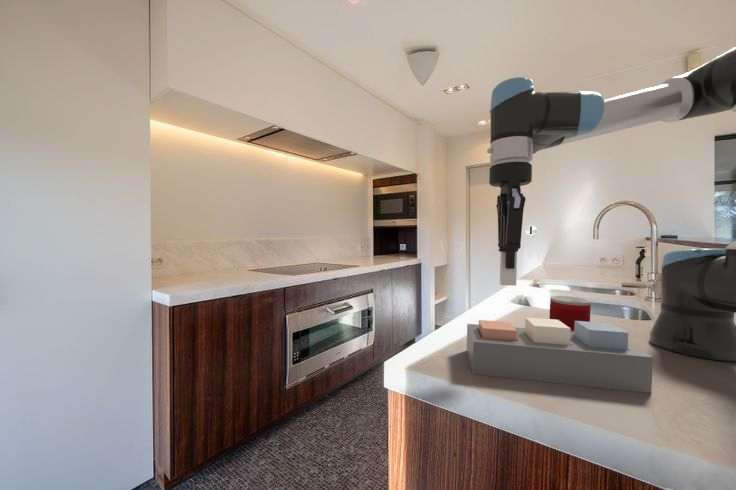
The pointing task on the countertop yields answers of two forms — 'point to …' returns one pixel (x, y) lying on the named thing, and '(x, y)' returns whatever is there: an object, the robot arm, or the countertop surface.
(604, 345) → the slate key
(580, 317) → the canned food
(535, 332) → the ivory key
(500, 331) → the terracotta key
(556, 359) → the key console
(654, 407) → the countertop surface
